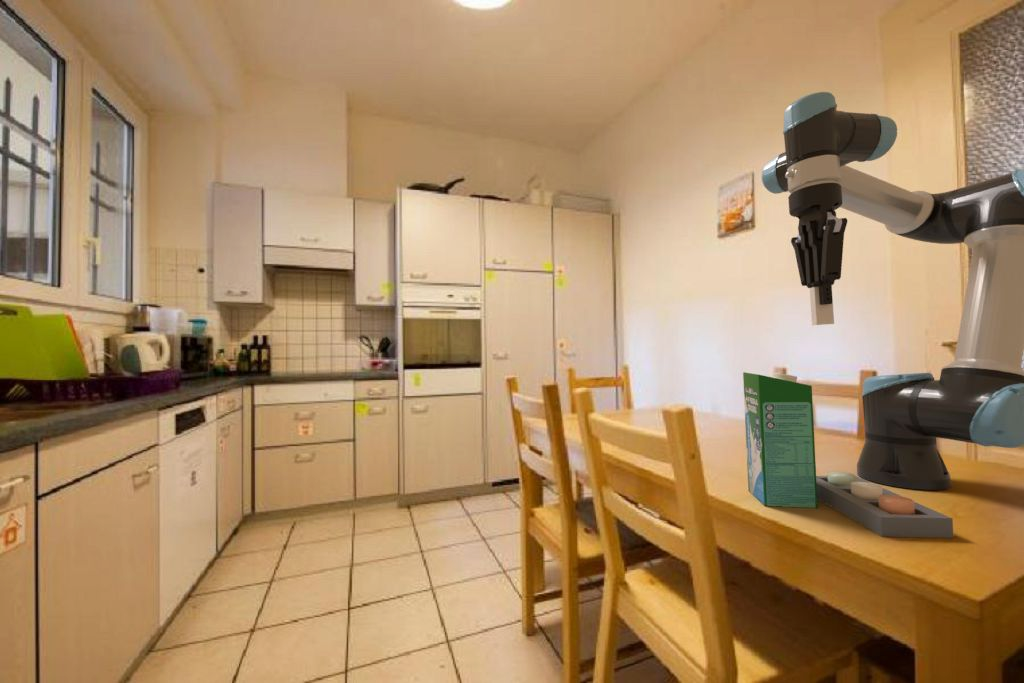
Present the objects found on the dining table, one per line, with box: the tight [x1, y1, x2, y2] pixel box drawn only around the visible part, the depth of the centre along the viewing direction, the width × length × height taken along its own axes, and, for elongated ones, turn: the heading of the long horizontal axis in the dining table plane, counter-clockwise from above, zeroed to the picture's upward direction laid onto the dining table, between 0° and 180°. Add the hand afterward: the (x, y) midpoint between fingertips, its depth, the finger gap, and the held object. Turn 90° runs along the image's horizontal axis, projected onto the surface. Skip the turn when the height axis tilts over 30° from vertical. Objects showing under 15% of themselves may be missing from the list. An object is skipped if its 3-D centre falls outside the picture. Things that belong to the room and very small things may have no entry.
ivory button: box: [851, 482, 883, 499], centre depth 77 cm, size 4×4×3 cm
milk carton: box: [742, 371, 819, 509], centre depth 84 cm, size 9×9×25 cm
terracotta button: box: [878, 495, 915, 515], centre depth 70 cm, size 4×4×3 cm
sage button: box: [827, 470, 856, 486], centre depth 84 cm, size 4×4×3 cm
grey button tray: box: [816, 475, 954, 539], centre depth 77 cm, size 22×10×3 cm, turn 173°
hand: (823, 324), depth 73 cm, fingers closed
